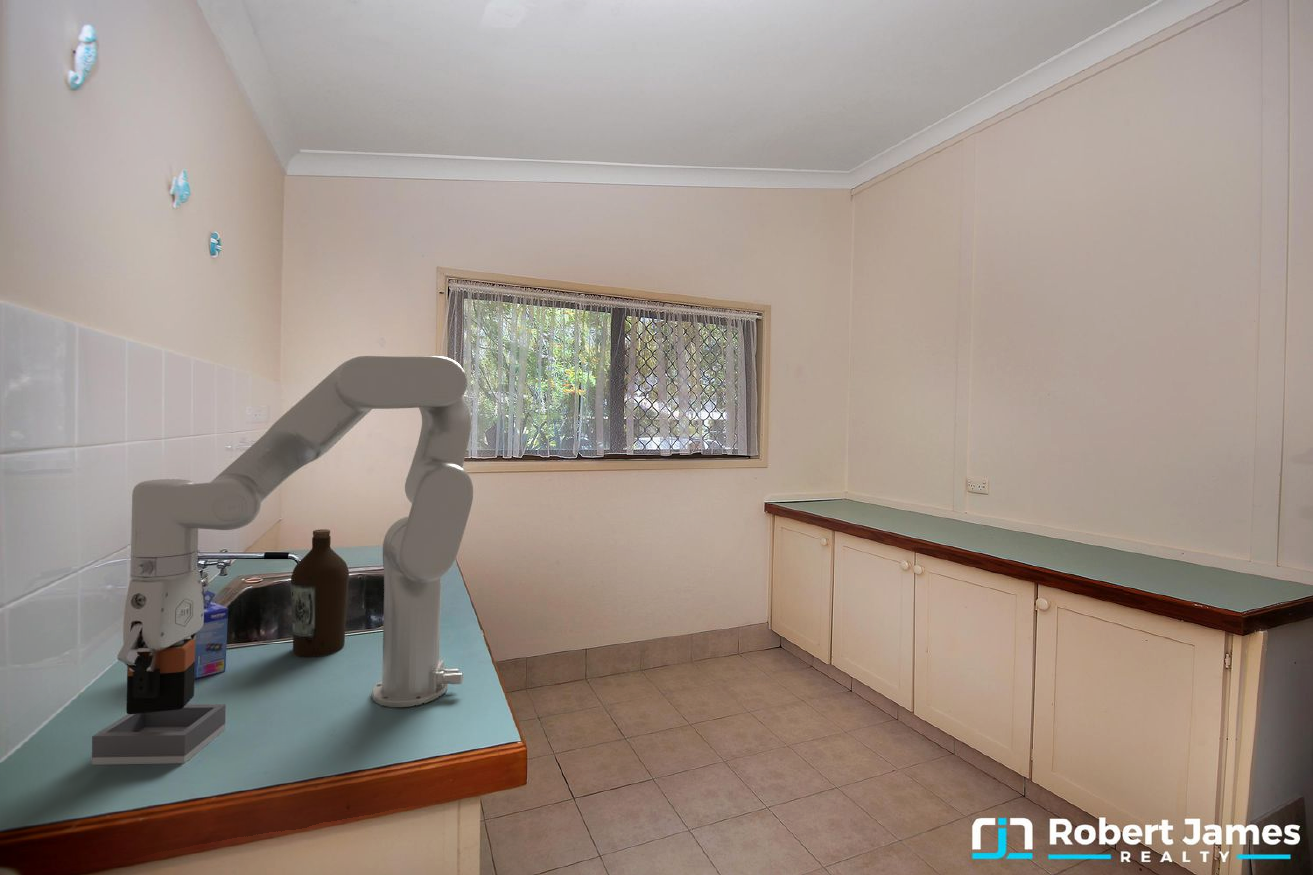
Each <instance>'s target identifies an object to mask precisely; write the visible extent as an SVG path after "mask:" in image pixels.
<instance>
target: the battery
mask: <svg viewBox="0 0 1313 875" xmlns="http://www.w3.org/2000/svg"><path fill="white" fill-rule="evenodd" d="M144 647H147V645H146V644H145V645H144ZM143 656H144V657H145V658H146V659H148V660H149V656H150V652H143ZM129 668H130V667H128V666H127V665H126V669H127V670H126V671H127V672H126V708H125V712H126V715H127V714H140V713H150V712H160V711H170V710H180V709H182V708H183V707H184V706H185V705H188V703H189V702H190V701H191V700H192V699H193V697H194V696H195V679H194V677H195V640H194V639H183V640H181V641H180V642H178V643H176V644H174V645H172V646H170V647H168V648H166V649H164V650H160V654H159V659H158V663H157V667H156V669H160V694H159V696H157V697H156V698H134V697H133V672H131V671H130V669H129Z"/></svg>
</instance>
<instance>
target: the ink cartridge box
mask: <svg viewBox="0 0 1313 875" xmlns="http://www.w3.org/2000/svg"><path fill="white" fill-rule="evenodd" d="M215 595H216V593H215V592H212V591H210V590H205V592H203V604H204V623H203V627H202V628H201V629H200V630H199V631H198V632H196V635H195V637H194V638H193V639H194V640H195V677H194V680H196V679H200V678H203V677H207V676H212V675H215V674H218V673H223V672H226V671H227V669H226V668H227V667H226V666H227V646H228V645H227V642H228V640H227V638H228V619H229V618H228V617H229V607H227V606H223V605H222V604H218V603H216V602H213V599H214V598H215ZM207 596H209V599H207V598H206V597H207Z"/></svg>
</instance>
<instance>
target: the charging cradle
mask: <svg viewBox="0 0 1313 875" xmlns="http://www.w3.org/2000/svg"><path fill="white" fill-rule="evenodd" d="M226 709H227V708H226V704H225V703H222V704H217V703H215V704H214V703H213V704H211V703H210V704H209V703H208V704H205V703H204V704H203V703H202V704H199V703H198V704H197V703H196V704H195V703H194V704H186V705H185V706H184V707H183V708H182V709H180V710H170V711H160V712H150V713H140V714H127V713H126V714H125V715H124V716H123V717H120V718H119V719H117V720H116V721H115V722H112V723H111V724H109V725H108V726H106V727H104V728H103V729H102V730H100V731H98V732H97V733H95V734H94V735H92V736H91V738H92V739H91V765H94V766H95V765H99V766H100V765H149V764H150V765H151V764H155V765H157V764H158V765H159V764H186V763H187V762H188V761H189V760H190V759H191V758H193V757H194V756H195V755H197V754H198V753H199V752H200V751H201V750H202V749H204V747H206V746H207V745H208V744H210V743H211V742H212V741H213V740H214V739H216V738H217V737H219V735H221V734H222V733H223V732H224V731H225V730H226V716H227V715H226V712H227V710H226Z"/></svg>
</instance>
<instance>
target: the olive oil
mask: <svg viewBox="0 0 1313 875" xmlns="http://www.w3.org/2000/svg"><path fill="white" fill-rule="evenodd" d="M330 534H331V530H330V529H326V528H325V529H314V530H313V531H312V538H311V549H310V551H309V552H307V553H306V555H305V556H304V557H302V559H300V560H299V562H297V564H296V565H295V567H294V568H293V571H292V573H291V576H290V577H291V578H290V593H291V594H290V595H291V596H290V597H291V615H292V616H291V619H292V620H291V621H292V652H293V654H294V655H295V656H298V657H304V658H316V657H322V656H326V655H331V654H334V653H337V652H339V651H340V650H341V649H343V648H344V647H345V639H346V625H347V624H346V620H347V610H348V609H347V608H348V596H349V595H348V594H349V585H350V584H349V583H350V582H349V581H350V571H349V567H348V565H347V564H348V563H347V562H346V561H345V560H344V559H343V558H342V557H341V556H340V555H339V554H337V553H336V551H334V550H333V549H332V548H331V541H332V540H331V535H330Z"/></svg>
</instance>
